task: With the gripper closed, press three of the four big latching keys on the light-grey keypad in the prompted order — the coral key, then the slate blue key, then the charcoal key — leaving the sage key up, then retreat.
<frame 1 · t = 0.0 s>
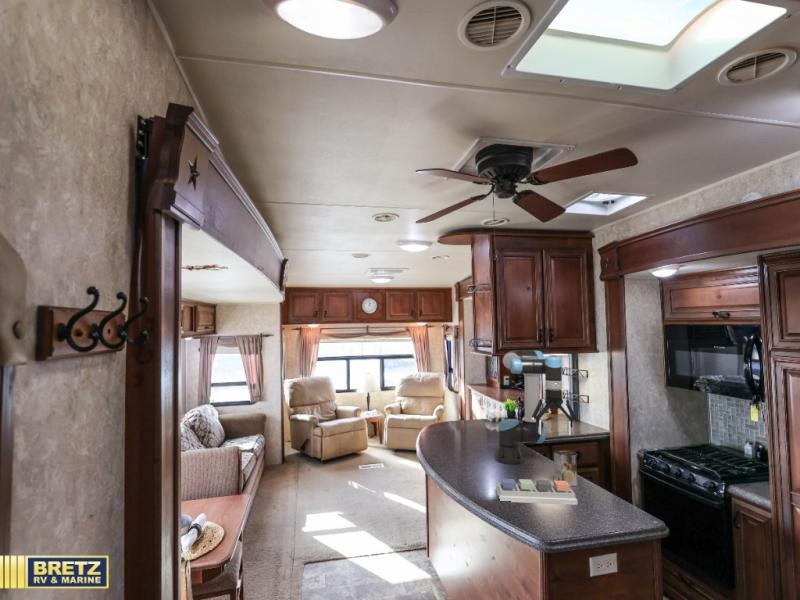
hand: (554, 434, 204), 28 cm above the counter, fingers open, 13 cm apart
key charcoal: (543, 484, 198), point 6 cm above the counter, slide at 0.0 cm
keypad board: (535, 497, 198), on the counter
key sage: (526, 484, 199), point 6 cm above the counter, slide at 0.0 cm
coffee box: (565, 484, 215), on the counter
key coral: (561, 485, 198), point 6 cm above the counter, slide at 0.0 cm
key slate blue: (508, 483, 200), point 6 cm above the counter, slide at 0.0 cm
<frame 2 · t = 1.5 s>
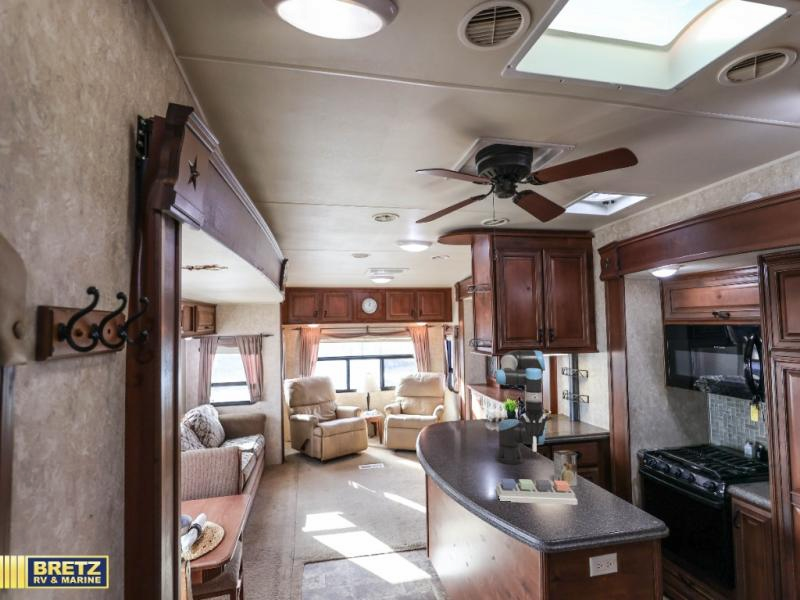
hand: (534, 450, 204), 20 cm above the counter, fingers closed
nothing on the counter moved.
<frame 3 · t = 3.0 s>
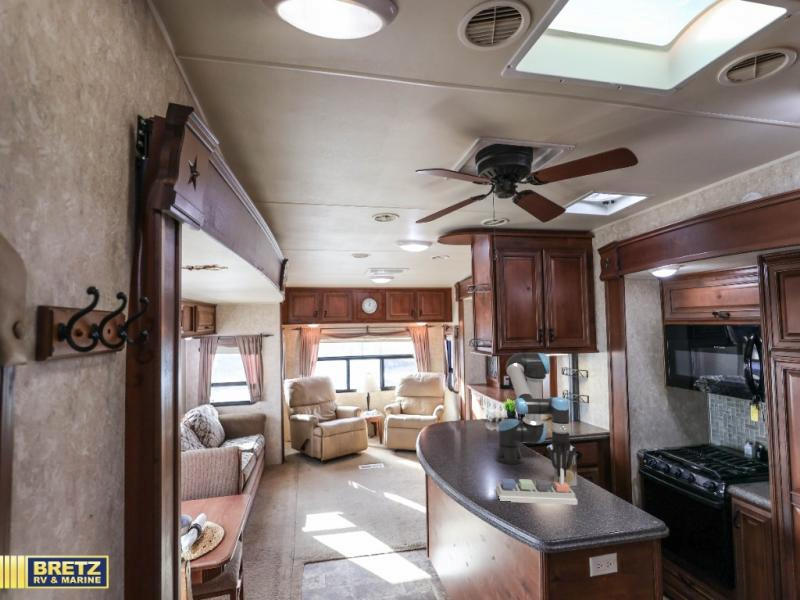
hand: (561, 483, 198), 7 cm above the counter, fingers closed
key coral: (561, 486, 198), point 5 cm above the counter, slide at 0.5 cm, touching gripper
everything else where it was.
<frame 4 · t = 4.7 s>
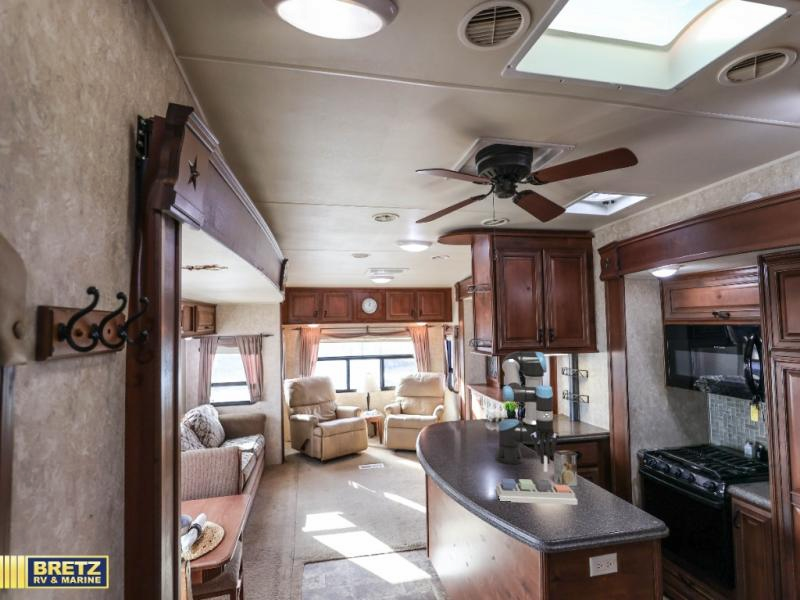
hand: (545, 470, 199), 12 cm above the counter, fingers closed
key coral: (561, 490, 198), point 4 cm above the counter, slide at 2.0 cm
everything else where it was.
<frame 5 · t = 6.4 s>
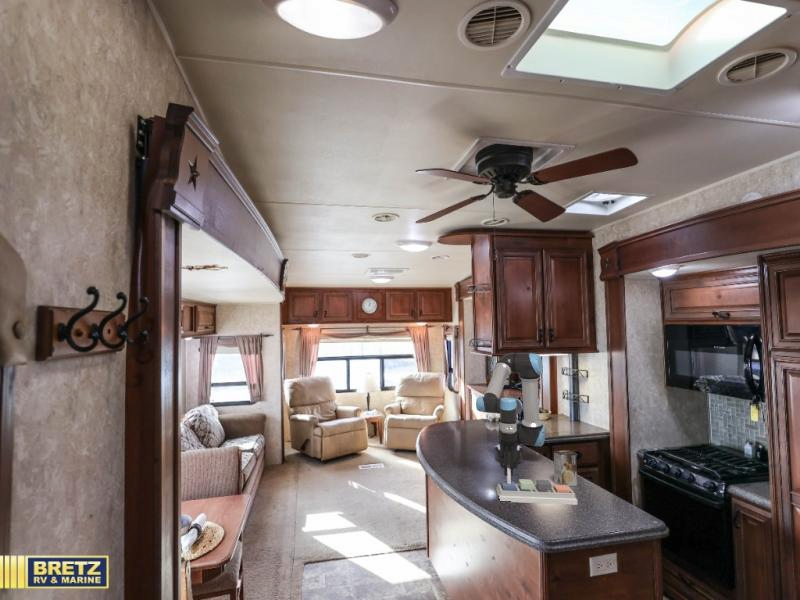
hand: (508, 482, 200), 6 cm above the counter, fingers closed
key slate blue: (508, 486, 200), point 5 cm above the counter, slide at 1.2 cm, touching gripper
everything else where it was.
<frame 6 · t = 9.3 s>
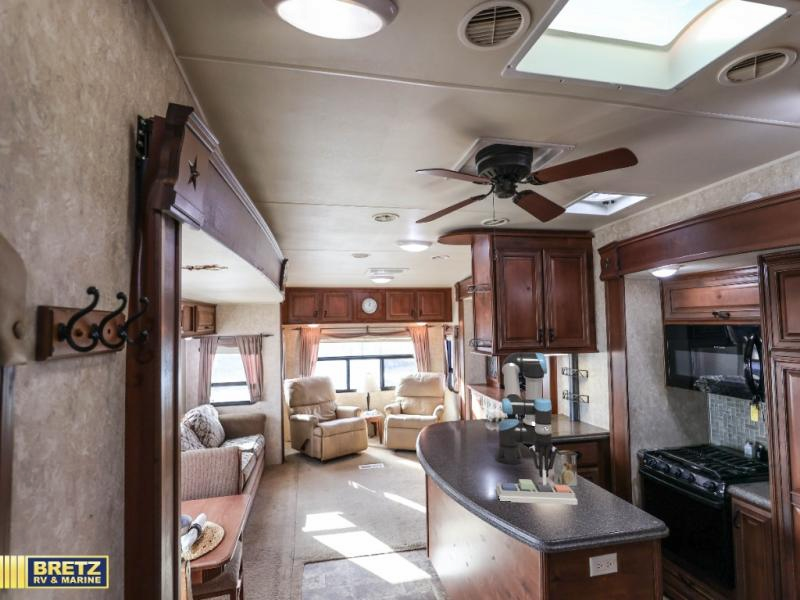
hand: (543, 484, 198), 6 cm above the counter, fingers closed
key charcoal: (543, 487, 198), point 5 cm above the counter, slide at 1.2 cm, touching gripper
key slate blue: (508, 488, 200), point 4 cm above the counter, slide at 2.0 cm
everything else where it was.
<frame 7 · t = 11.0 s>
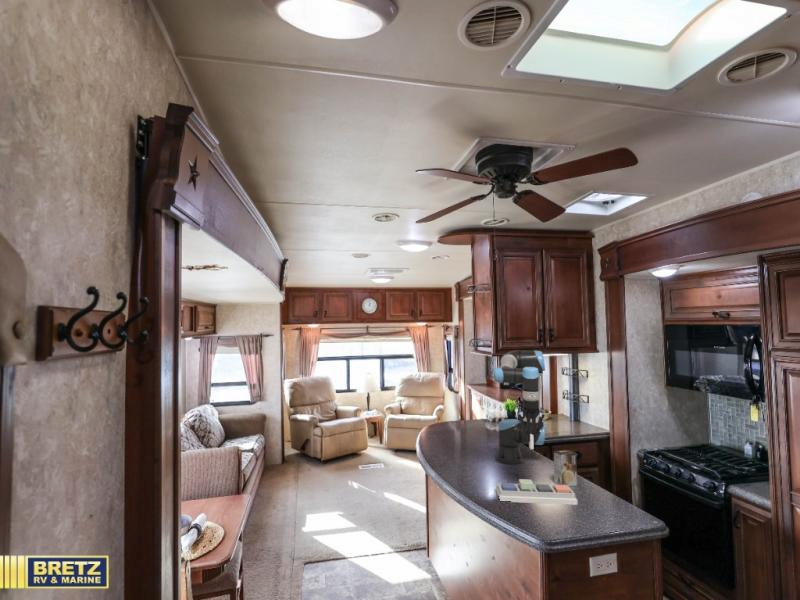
hand: (531, 448, 207), 20 cm above the counter, fingers closed
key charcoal: (543, 489, 198), point 4 cm above the counter, slide at 2.0 cm
everything else where it was.
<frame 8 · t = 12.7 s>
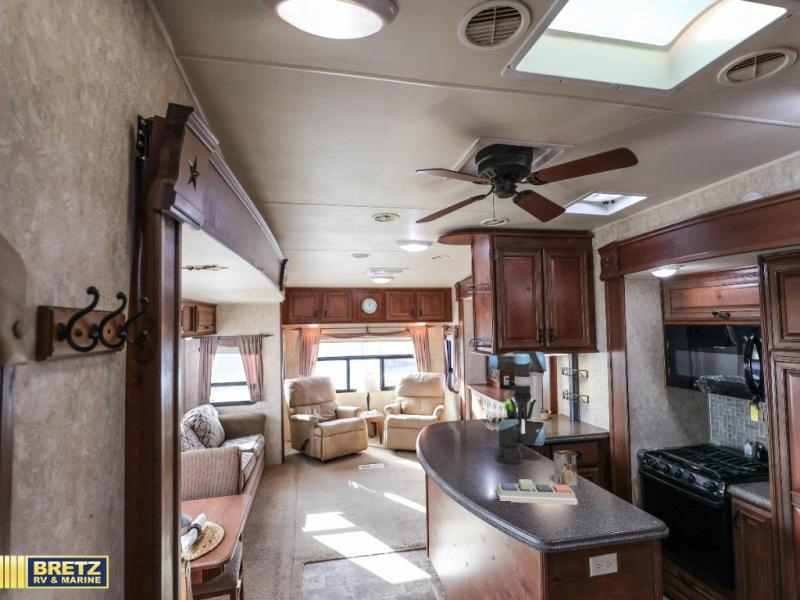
hand: (522, 432, 212), 26 cm above the counter, fingers closed
nothing on the counter moved.
at the end: key coral slide at 2.0 cm; key slate blue slide at 2.0 cm; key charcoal slide at 2.0 cm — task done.
